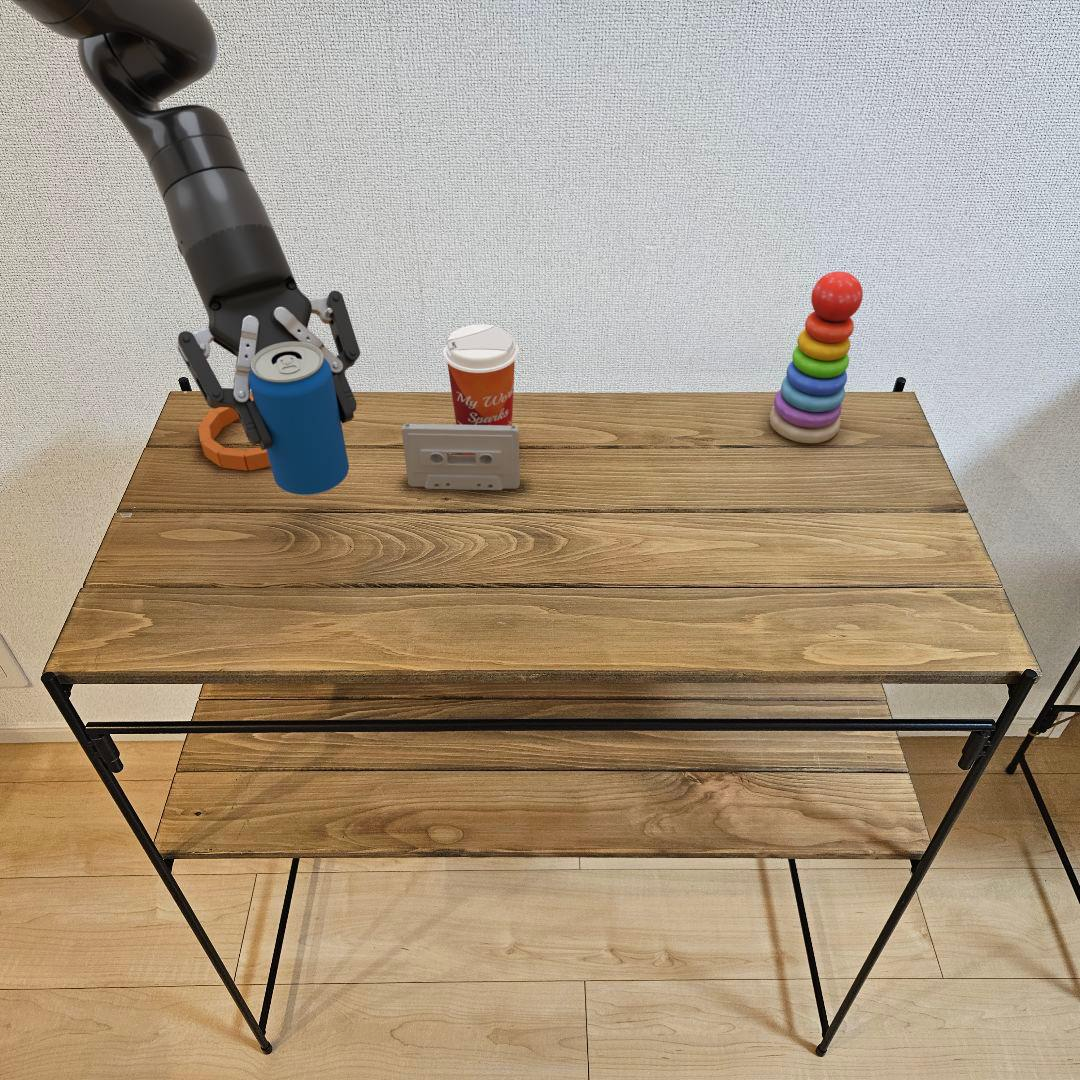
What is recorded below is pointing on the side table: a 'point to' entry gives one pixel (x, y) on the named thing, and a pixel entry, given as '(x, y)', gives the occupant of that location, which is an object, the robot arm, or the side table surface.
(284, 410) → the beverage can
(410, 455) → the cassette
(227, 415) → the ring
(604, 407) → the side table surface
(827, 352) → the stacking toy
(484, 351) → the paper cup
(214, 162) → the robot arm
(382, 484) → the side table surface
